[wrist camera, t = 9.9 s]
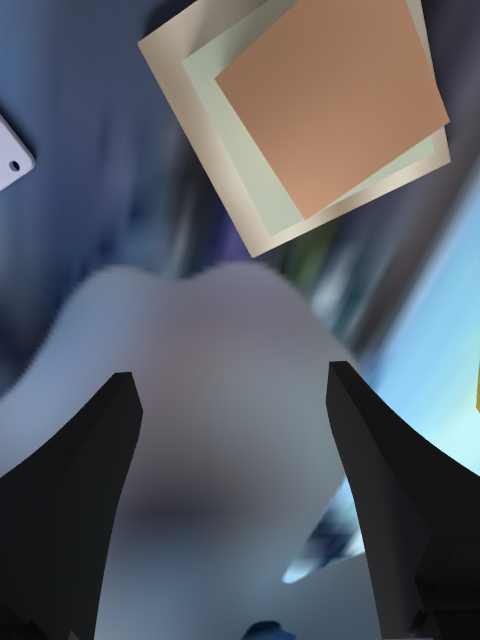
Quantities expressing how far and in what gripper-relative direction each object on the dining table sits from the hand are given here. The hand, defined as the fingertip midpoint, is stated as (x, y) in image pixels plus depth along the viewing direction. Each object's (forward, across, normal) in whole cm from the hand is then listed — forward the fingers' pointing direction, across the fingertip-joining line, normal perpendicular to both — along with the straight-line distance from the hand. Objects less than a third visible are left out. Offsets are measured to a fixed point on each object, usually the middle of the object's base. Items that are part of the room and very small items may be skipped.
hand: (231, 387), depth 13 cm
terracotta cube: (+7, -4, -9) cm, 12 cm away
